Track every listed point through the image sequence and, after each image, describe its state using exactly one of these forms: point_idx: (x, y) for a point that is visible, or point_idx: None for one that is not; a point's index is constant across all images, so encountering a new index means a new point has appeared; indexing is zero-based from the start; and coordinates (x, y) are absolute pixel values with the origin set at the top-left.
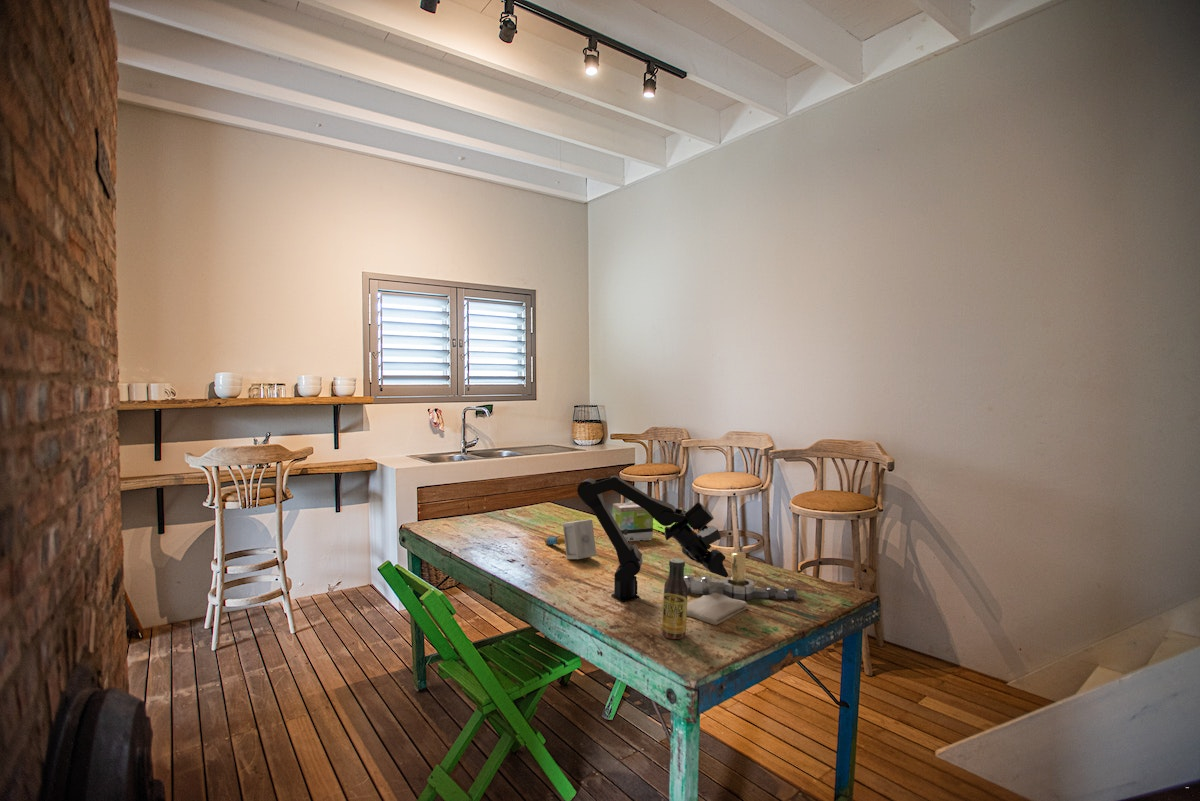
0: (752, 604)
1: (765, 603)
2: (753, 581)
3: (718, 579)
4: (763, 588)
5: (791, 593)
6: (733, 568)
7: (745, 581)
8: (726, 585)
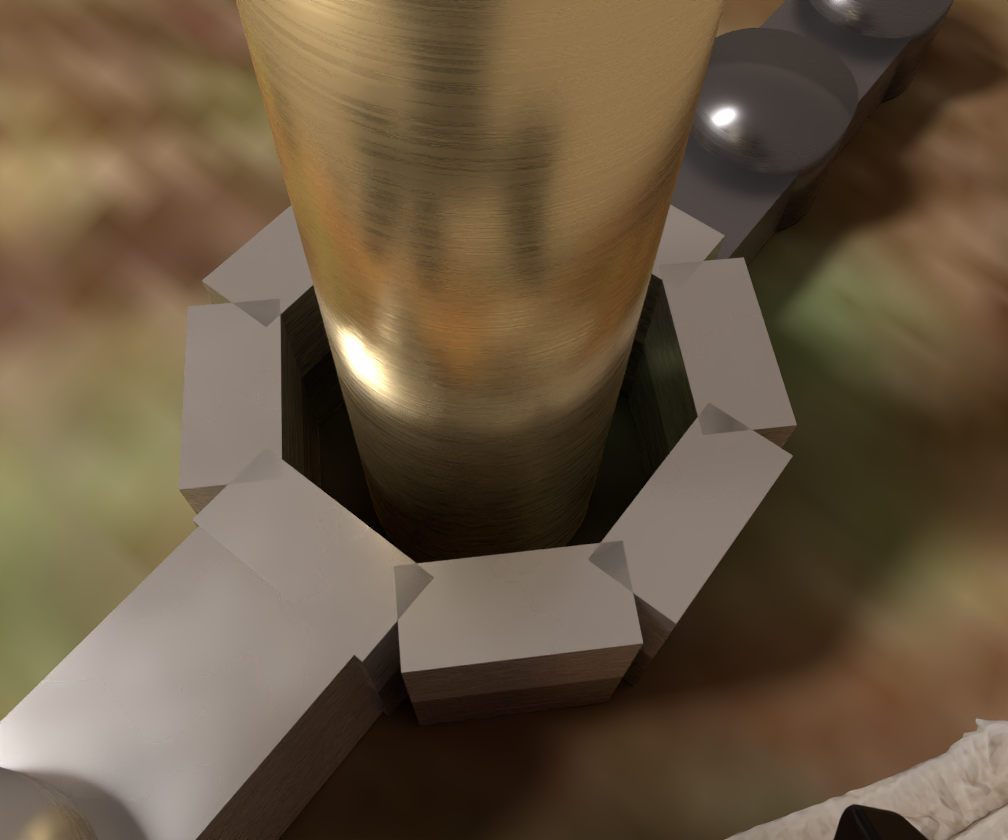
0: (900, 547)
1: (914, 369)
2: None
3: (135, 607)
4: None
5: (946, 11)
6: (511, 311)
7: None
8: (478, 667)
